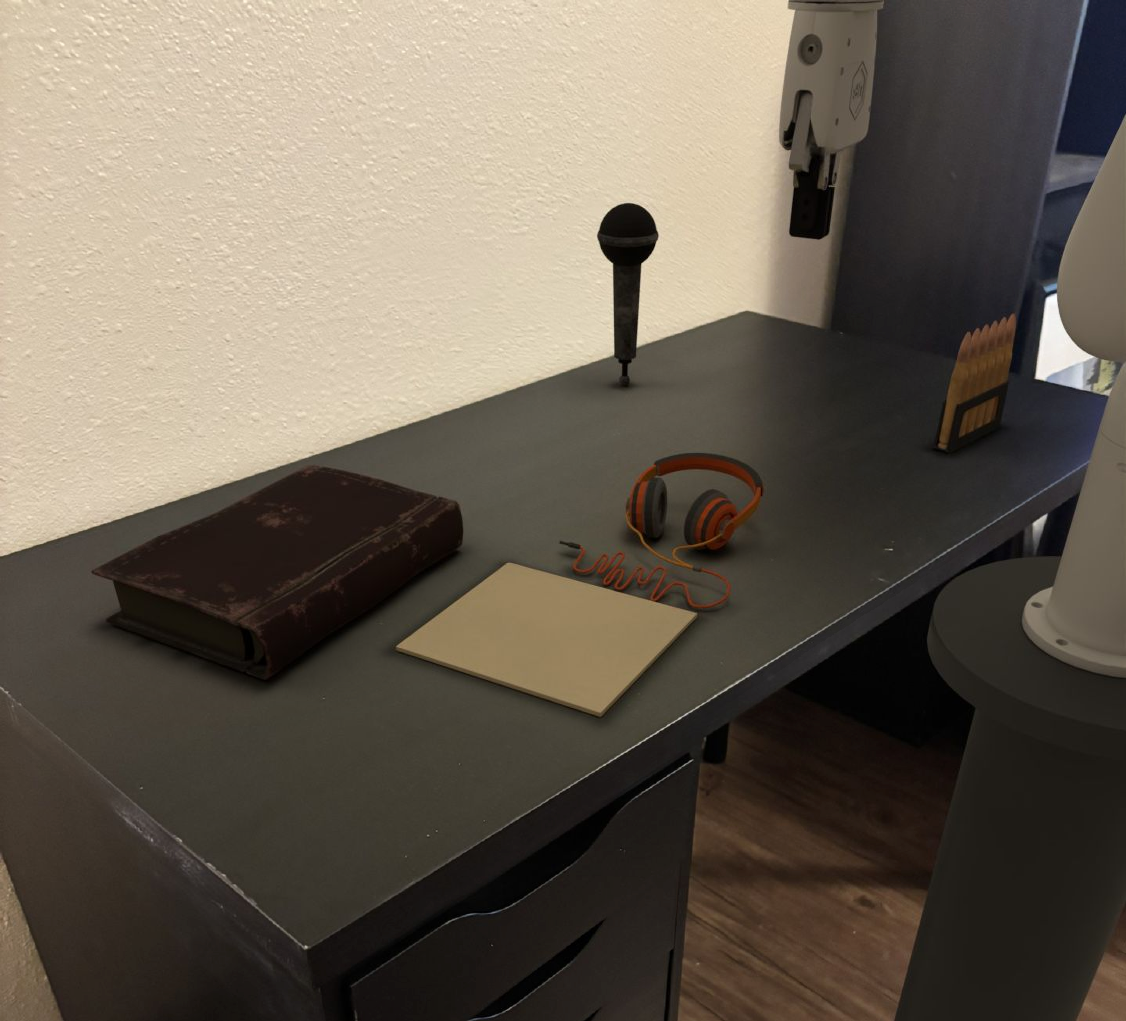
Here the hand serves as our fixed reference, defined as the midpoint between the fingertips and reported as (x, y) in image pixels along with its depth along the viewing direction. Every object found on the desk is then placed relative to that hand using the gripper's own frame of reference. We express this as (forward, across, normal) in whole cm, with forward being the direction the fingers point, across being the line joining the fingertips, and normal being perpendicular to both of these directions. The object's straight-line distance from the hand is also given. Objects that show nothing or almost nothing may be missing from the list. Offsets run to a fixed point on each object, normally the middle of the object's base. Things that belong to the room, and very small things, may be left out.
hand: (808, 235), depth 99 cm
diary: (+22, -43, +27) cm, 55 cm away
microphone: (+22, +15, +26) cm, 37 cm away
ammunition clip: (+22, +18, -14) cm, 32 cm away
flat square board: (+22, -39, +4) cm, 45 cm away
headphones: (+22, -21, +2) cm, 31 cm away
